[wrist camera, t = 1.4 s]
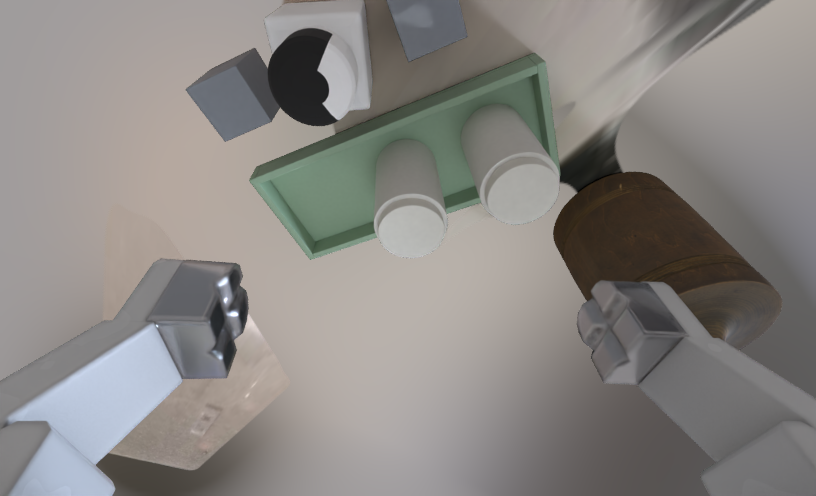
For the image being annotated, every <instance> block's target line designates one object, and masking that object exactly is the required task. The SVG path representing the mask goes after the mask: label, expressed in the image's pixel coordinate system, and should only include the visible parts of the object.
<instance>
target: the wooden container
mask: <svg viewBox="0 0 816 496" xmlns="http://www.w3.org/2000/svg"><path fill="white" fill-rule="evenodd" d="M553 235H554V241H555V244H556V246H557V248H558V250H559V252H560V254H561V256H562V258H563V260H564V261H565V263H566V266H567V267H568V269H569V271H570V273H571V275H572V277H573V279H574V280H575V282H576V284H577V285H578V287H579V289H580V290H581V292H582V294H583V295H584V297H585V299H586V300H587V301H589V300H590V299H592V298H593V297H592V294H591V290H592V289H593V287H594V286H595V284H596V283H598V282H599V281H601V280H613V281H638V282H642V281H644V282H664V283H665V284H667V285H669V286H670V287H671V288H672V289H673V290H674V292H675V293H676V294H677V295H678V296H679V298H680V299H681V300H682V301H683V302H684V304H685V305H686V306H687V307H688V308H689V310H690V311H691V312H692V313H693V314H694V316H695V317H696V318H697V319H698V321H699V322H700V323H701V324H702V325H703V327H704V328H705V329H706V330H707V331H708V333H709V334H710V335H711V336H712V337H713V338H720V339H721V340H723V341H724V342H726V343H728V344H729V345H731V346H732V347H734V348H736V349H737V350H741V349H742V348H744V347H746V346H747V345H749V344H750V343H752V342H753V341H755V340H756V339H757V338H759V337H760V336H761V335H762V334H764V332H766V331H767V330H768V329H769V328H770V326H771V325H772V324H773V323H774V322H775V320H776V319H777V317H778V316H779V314H780V312H781V308H782V298H781V295H780V294H779V292H778V291H777V290H776V289H775V288H774V287H773V286H772V285H771V284H770V283H769V282H768V281H767V280H766V279H765V278H764V277H763V276H762V275H761V274H760V273H759V272H757V271H756V270H755V269H754V268H753V267H752V266H751V265H750V264H749V263H748V262H747V261H746V260H745V259H744V258H743V257H742V256H741V255H740V254H739V253H738V252H737V251H736V250H735V249H734V248H733V247H732V246H731V245H730V244H729V243H728V242H727V241H726V240H725V239H724V238H723V237H722V236H721V235H720V234H719V233H718V232H717V231H716V230H715V229H714V228H713V227H712V226H711V225H710V224H709V223H708V222H707V221H706V220H705V219H703V218H702V217H701V216H700V215H699V214H698V213H697V212H696V211H695V210H694V209H693V208H692V207H691V206H690V205H689V204H688V203H687V202H685V201H684V200H683V199H682V198H681V197H680V196H678V195H677V194H676V193H675V192H674V191H673V190H672V189H671V188H670V187H668V186H667V185H666V184H665V183H664V182H662V181H661V180H660V179H659V178H657V177H655V176H653V175H651V174H647V173H643V172H625V173H618V174H614V175H610V176H607V177H605V178H602V179H600V180H598V181H596V182H594V183H592V184H590V185H589V186H587V187H585V188H584V189H582V190H581V191H580V192H578V193H577V194H576V195H575V196H574V197H573V198H572V199H571V200H570V201H569V202H568V203H567V204H566V205H565V206H564V208H563V209H562V210H561V212H560V214H559V216H558V218H557V220H556V223H555V226H554V232H553Z"/></svg>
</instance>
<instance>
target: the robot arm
mask: <svg viewBox="0 0 816 496" xmlns="http://www.w3.org/2000/svg"><path fill="white" fill-rule="evenodd" d="M242 277H243V275H242V272H241V268H240V265H238V264H236V263H225V262H212V261H197V260H175V259H162V258H161V259H159V260H157V261H156V262H154V263H153V264H152V266H151V267H150V268H149V270H148V271H147V273H146V274H145V276H144V277H143V278H142V280H141V281H140V283H139V284H138V286H137V287H136V288H135V290H134V291H133V293H132V294H131V295H130V297H129V298H128V300H127V301H126V303H125V304H124V305H123V307H122V308H121V310H120V311H119V313H118V314H117V315H116V317H115V318H114V320H104V321H102V322H101V323H99V324H97V325H95V326H94V327H92V328H90V329H89V330H87V331H85V332H84V333H82V334H80V335H78V336H77V337H75V338H73V339H71V340H70V341H68V342H66V343H65V344H63V345H61V346H59V347H58V348H56V349H54V350H52V351H51V352H49V353H48V354H46V355H44V356H42V357H40V358H39V359H37V360H35V361H34V362H32V363H30V364H28V365H27V366H25V367H23V368H21V369H20V370H18V371H16V372H15V373H13V374H11V375H10V376H8V377H6V378H5V379H3V380H1V381H0V496H112V495H113V493H114V491H115V487H114V484H113V482H112V481H111V480H110V479H109V478H108V477H107V476H106V475H105V474H104V473H103V472H102V471H100V470H99V469H98V468H97V467H96V466H95V465H96V464H97V463H98V462H99V461H100V460H101V459H102V458H103V457H104V456H105V455H106V454H107V453H108V452H109V451H110V450H111V449H112V448H113V447H114V446H116V445H117V444H118V443H119V442H120V441H121V440H122V439H123V438H124V437H125V436H126V435H127V434H128V433H129V432H130V431H131V430H132V429H133V428H134V427H135V426H137V425H138V424H139V423H140V422H141V421H142V420H143V419H144V418H145V417H146V416H147V415H148V414H149V413H150V412H151V411H152V410H153V409H154V408H155V407H156V406H158V405H159V404H160V403H161V402H162V401H163V400H164V399H165V398H166V397H167V396H168V395H169V394H170V393H171V392H172V391H173V390H174V389H175V388H176V387H177V386H179V385H180V384H181V383H182V382H183V380H182V379H206V378H227V376H228V374H229V371H230V368H231V365H232V362H233V359H234V357H235V354H236V351H237V349H236V346H235V343H234V340H235V339H236V338H237V337H238V336H240V335H241V334H242V333H243V331H244V328H245V325H246V322H247V315H248V296H247V292H246V290H245V289H243V288H242V287H241V286H240V283H241V280H242ZM591 294H592V297H593V298H592V299H590V300H589V301H587V302H586V303H584V304H583V305H582V307H581V309H580V310H579V312H578V317H577V327H578V332H579V334H580V336H581V339H582V341H583V342H584V343H585V344H586V345H588V346H589V347H590V348H591V349H592V350H593V352H592V356H591V359H592V361H593V363H594V365H595V367H596V369H597V371H598V373H599V375H600V377H601V379H602V381H603V383H614V384H638V387H639V388H640V389H641V390H642V391H643V392H644V393H645V394H646V395H647V396H648V397H649V398H650V399H651V400H652V401H653V402H654V403H655V404H656V405H657V406H658V407H659V408H660V409H662V410H663V411H664V412H665V413H666V414H667V415H668V416H669V417H670V418H671V419H672V420H673V421H674V422H675V423H676V424H677V425H678V426H679V427H680V428H681V429H682V430H683V431H684V432H686V434H687V435H689V436H690V437H691V438H692V439H693V440H694V441H695V442H696V443H697V444H698V445H699V446H700V447H701V448H702V449H703V450H704V451H705V452H706V453H707V454H708V455H709V456H710V457H711V458H712V459H713V460H715V461H716V463H715V464H713V465H711V466H710V467H708V468H707V469H705V470H703V471H702V473H701V476H700V478H701V480H702V481H703V483H704V485H705V487H706V488H707V490H708V492H709V494H710V496H816V399H815V398H814V397H812V396H811V395H809V394H807V393H806V392H804V391H803V390H801V389H799V388H798V387H796V386H795V385H793V384H791V383H790V382H788V381H787V380H785V379H783V378H782V377H780V376H779V375H777V374H776V373H774V372H772V371H771V370H769V369H768V368H766V367H764V366H763V365H761V364H760V363H758V362H756V361H755V360H753V359H751V358H750V357H748V356H747V355H745V354H743V353H742V352H740V351H739V350H737V349H736V348H734V347H732V346H731V345H729V344H728V343H726V342H724V341H723V340H721V339H720V338H713V337H712V336H711V335H710V334H709V333H708V331H707V330H706V329H705V328H704V327H703V325H702V324H701V323H700V322H699V321H698V319H697V318H696V317H695V316H694V314H693V313H692V312H691V311H690V310H689V308H688V307H687V306H686V305H685V304H684V302H683V301H682V300H681V299H680V298H679V296H678V295H677V294H676V293H675V292H674V290H673V289H672V288H671V287H670V286H669V285H667V284H665V283H664V282H644V281H642V282H638V281H613V280H601V281H599V282H598V283H596V284H595V286H594V287H593V289H592V290H591Z"/></svg>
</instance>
